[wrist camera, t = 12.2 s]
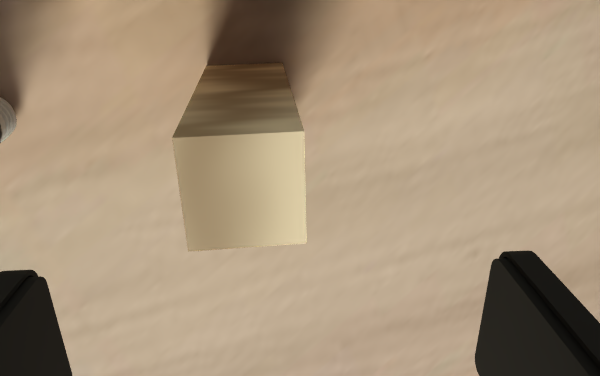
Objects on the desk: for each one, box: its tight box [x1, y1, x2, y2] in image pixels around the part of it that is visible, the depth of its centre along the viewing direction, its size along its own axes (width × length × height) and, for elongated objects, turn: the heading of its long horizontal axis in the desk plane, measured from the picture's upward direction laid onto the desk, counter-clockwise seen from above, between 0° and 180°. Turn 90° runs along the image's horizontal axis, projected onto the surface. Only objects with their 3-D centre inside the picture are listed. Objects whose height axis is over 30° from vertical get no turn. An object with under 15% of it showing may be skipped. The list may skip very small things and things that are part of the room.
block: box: [172, 63, 307, 251], centre depth 21 cm, size 4×4×12 cm
